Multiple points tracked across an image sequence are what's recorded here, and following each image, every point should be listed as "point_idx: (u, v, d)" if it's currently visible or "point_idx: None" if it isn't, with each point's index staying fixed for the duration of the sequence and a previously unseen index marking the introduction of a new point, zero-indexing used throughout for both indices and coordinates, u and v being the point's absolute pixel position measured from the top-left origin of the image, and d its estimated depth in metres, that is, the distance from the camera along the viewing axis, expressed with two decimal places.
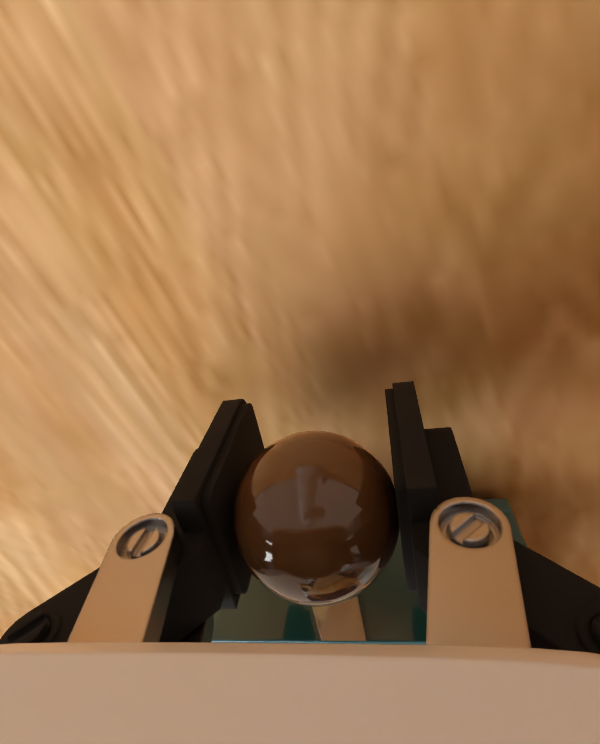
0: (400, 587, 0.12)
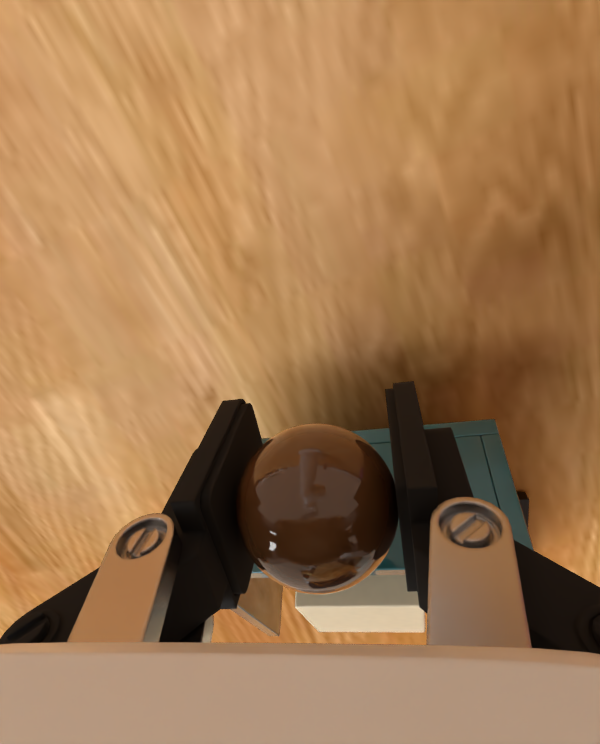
0: None
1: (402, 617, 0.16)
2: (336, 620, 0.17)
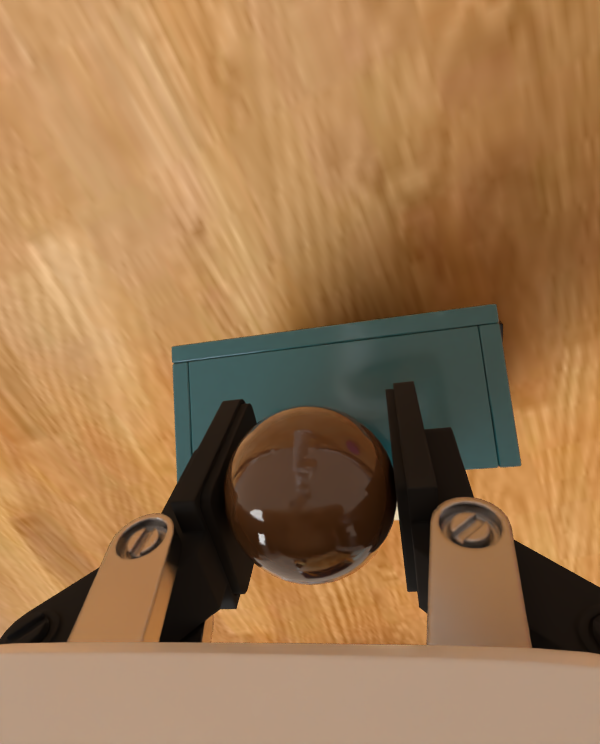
0: (382, 423, 0.13)
1: None
2: None
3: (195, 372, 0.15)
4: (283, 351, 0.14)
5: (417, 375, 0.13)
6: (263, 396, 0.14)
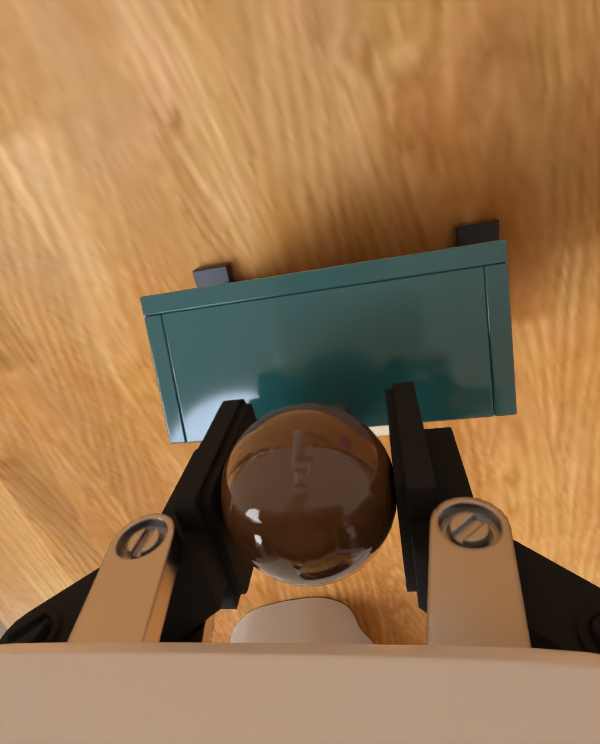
0: (376, 376, 0.13)
1: None
2: None
3: (171, 326, 0.13)
4: (266, 300, 0.13)
5: (414, 324, 0.12)
6: (248, 351, 0.13)
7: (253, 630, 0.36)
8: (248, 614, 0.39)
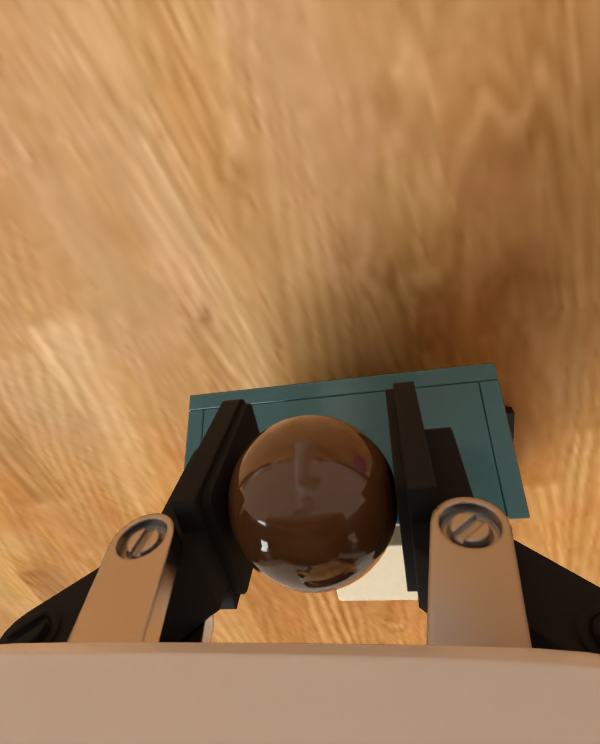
0: None
1: None
2: None
3: (209, 419, 0.16)
4: (294, 401, 0.15)
5: None
6: None
7: None
8: None
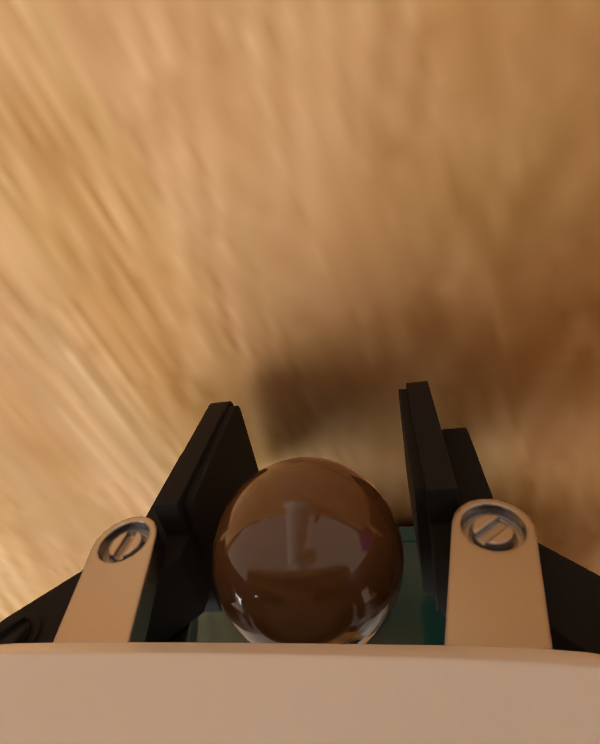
0: (403, 625, 0.11)
1: None
2: None
3: None
4: None
5: None
6: None
7: None
8: None
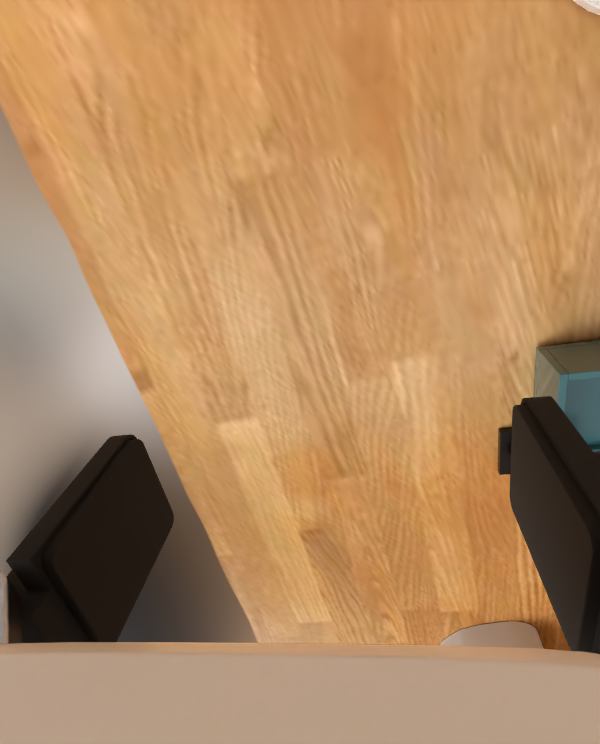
0: None
1: None
2: None
3: (552, 351, 0.35)
4: (593, 344, 0.34)
5: None
6: (591, 353, 0.33)
7: (470, 644, 0.52)
8: (458, 632, 0.54)
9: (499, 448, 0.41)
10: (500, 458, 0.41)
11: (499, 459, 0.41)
